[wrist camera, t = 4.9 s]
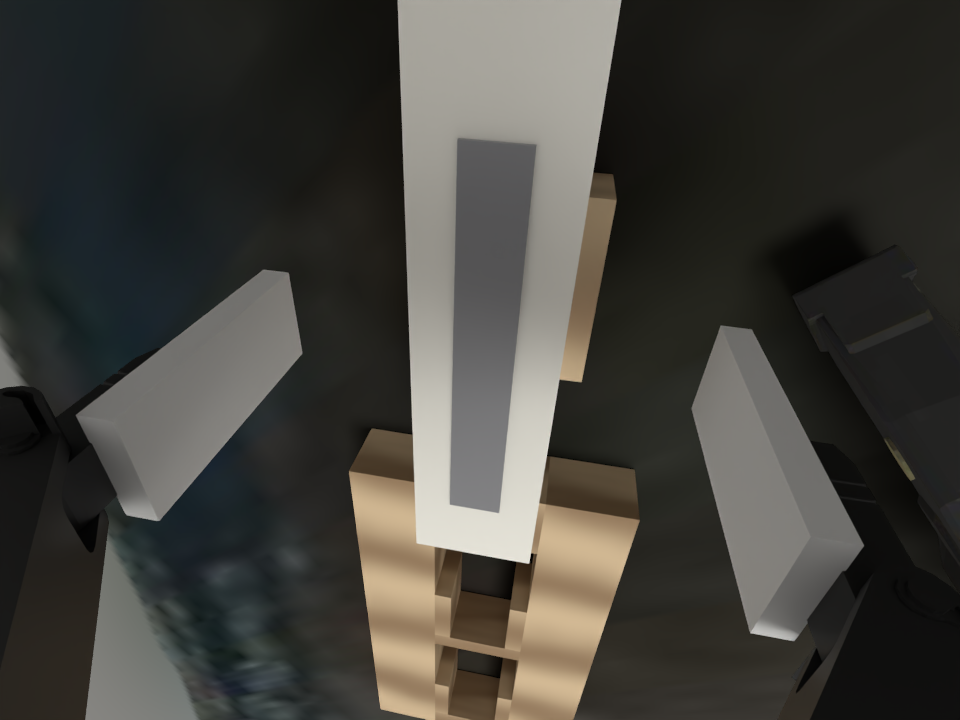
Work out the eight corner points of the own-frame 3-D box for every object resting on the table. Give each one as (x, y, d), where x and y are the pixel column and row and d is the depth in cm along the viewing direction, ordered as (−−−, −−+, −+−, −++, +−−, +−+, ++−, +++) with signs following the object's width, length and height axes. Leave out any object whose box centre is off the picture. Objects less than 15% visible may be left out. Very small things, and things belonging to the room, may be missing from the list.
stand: (440, 158, 18) (417, 180, 16) (612, 174, 18) (616, 199, 15) (439, 321, 22) (420, 360, 19) (582, 339, 21) (581, 382, 19)
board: (371, 428, 26) (348, 471, 24) (634, 469, 25) (639, 520, 22) (393, 666, 39) (380, 709, 37) (564, 702, 38) (563, 749, 35)
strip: (470, -3, 15) (394, -16, 9) (609, 4, 15) (622, -5, 9) (458, 417, 24) (415, 546, 18) (543, 430, 24) (528, 567, 18)
